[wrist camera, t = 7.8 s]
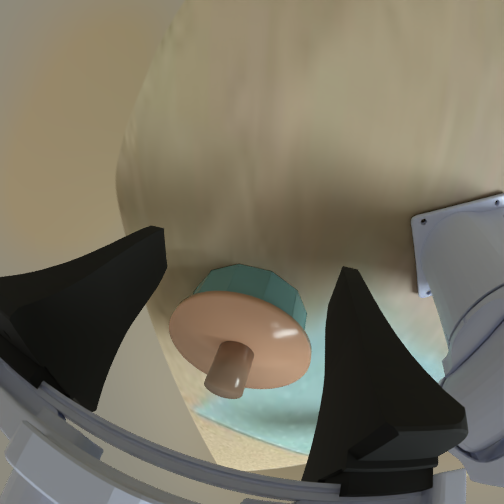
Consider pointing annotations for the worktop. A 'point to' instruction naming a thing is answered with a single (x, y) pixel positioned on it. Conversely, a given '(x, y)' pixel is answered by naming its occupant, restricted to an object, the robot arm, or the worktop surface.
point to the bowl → (256, 288)
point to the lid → (239, 342)
